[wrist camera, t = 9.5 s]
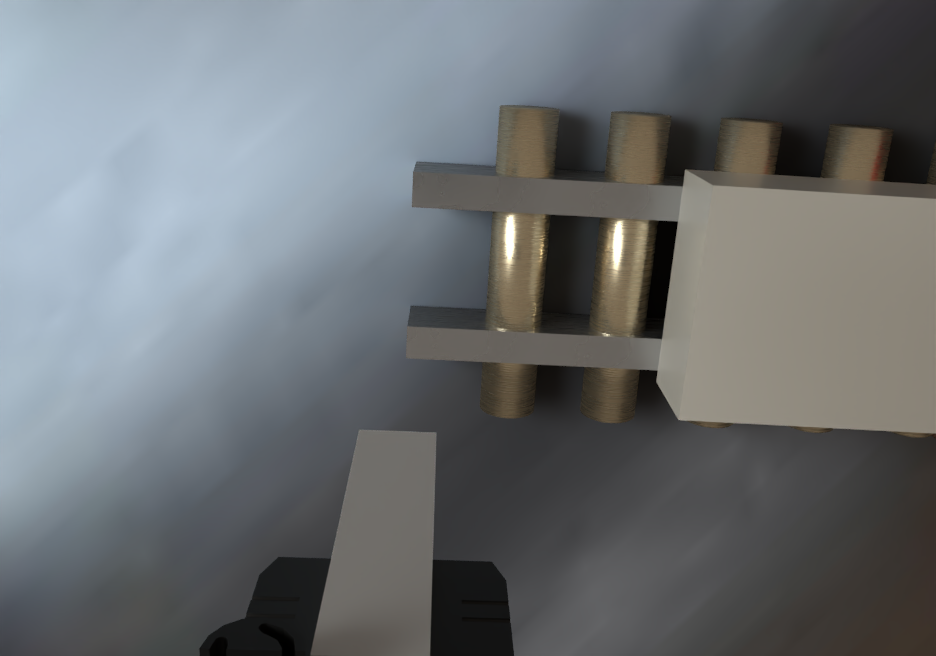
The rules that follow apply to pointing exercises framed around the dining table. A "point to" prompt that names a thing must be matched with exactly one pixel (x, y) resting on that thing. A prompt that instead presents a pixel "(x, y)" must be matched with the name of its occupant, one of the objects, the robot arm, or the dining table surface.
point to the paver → (802, 303)
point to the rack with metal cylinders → (617, 259)
